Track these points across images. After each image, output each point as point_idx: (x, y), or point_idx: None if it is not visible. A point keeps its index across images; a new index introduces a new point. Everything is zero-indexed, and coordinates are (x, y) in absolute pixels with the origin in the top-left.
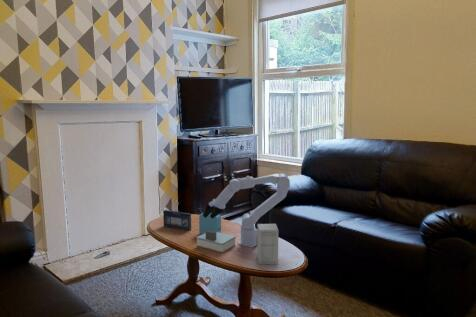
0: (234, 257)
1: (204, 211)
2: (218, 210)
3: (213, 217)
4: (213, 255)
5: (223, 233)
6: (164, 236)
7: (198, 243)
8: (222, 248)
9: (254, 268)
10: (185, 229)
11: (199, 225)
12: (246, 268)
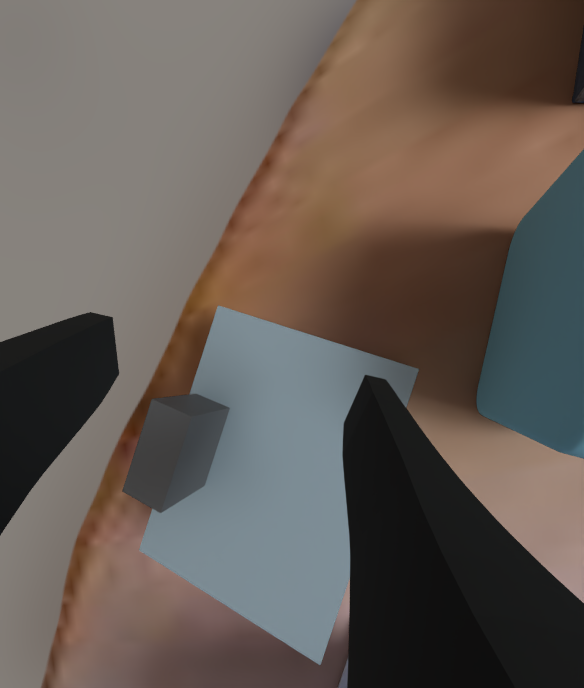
0: (147, 604)
1: (2, 344)
2: (380, 679)
3: (342, 455)
4: None
5: None
6: (365, 19)
7: None
8: None
9: None
10: (582, 59)
11: (550, 188)
12: (43, 681)
